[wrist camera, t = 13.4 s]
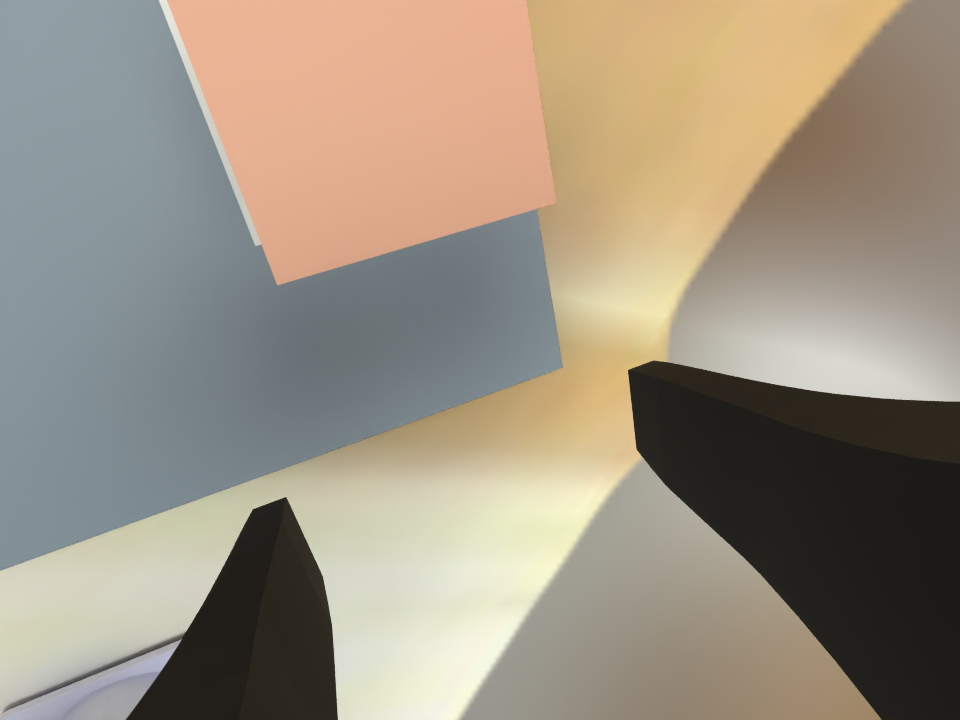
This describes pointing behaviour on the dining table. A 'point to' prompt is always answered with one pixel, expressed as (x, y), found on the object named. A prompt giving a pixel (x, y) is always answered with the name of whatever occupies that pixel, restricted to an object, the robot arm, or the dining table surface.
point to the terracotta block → (370, 119)
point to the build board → (200, 296)
